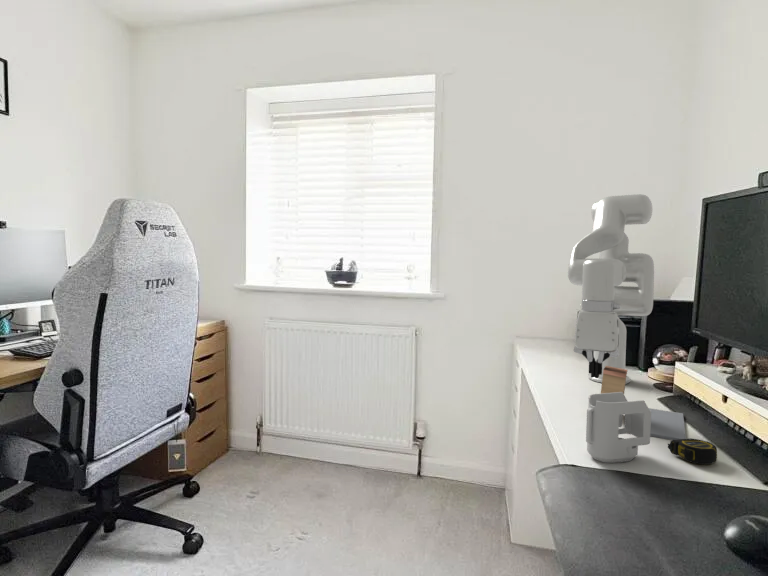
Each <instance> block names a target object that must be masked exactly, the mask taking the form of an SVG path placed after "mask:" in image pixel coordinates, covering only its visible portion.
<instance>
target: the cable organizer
mask: <svg viewBox="0 0 768 576" xmlns="http://www.w3.org/2000/svg"><path fill="white" fill-rule="evenodd" d="M587 404H588V405H587V410H586V426H585V427H586V428H585V430H586V433H585V441H586V451H587V453H588V454H589V455H590V456H591V457H592V458H593V459H595V460H597V461H599V462H603V463H608V464H609V463H612V464H613V463H618V462H619V463H620V462H621V463H622V462H623V463H624V462H625V463H626V462H630V461H632V460H633V459H634V458H636V457H637V456H638V454H639V452H638V451H639V446H648V445H650V443H651V436H650V429H651V411H650V410H649V409H648V408H649V407H648V405H647V403H646V402H645V400H644V399H642V400H632V401H628V399H627V397H626V396H625V393H624V394H623V392H614V393H601V392H600V393H593V394H590V395H588V402H587ZM623 416H624V427H623ZM621 427H623V428H621ZM625 434H627V435H631V436H634V437H629V438H625V437H624V438H623V437H619V435H625Z"/></svg>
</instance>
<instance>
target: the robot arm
mask: <svg viewBox="0 0 768 576" xmlns="http://www.w3.org/2000/svg"><path fill="white" fill-rule="evenodd" d="M652 215H653V203H652V200H651V199H650V197H649V196H648V195H645V194H623V195H611V196H606V197H604V198H602V199H600V200H598V201H596V202H595V203H593V204H592V205H591V218H592V229H591V232H590V233H588V234H586V235H585V236H584V237H582V238H581V239H580V240H578V242H577V243H576V244H575V245H574V246H573V248H572V250H571V252H570V258H569V263H568V268H567V277H568V280H569V282H570V283H571V284H573V285H575V286H581V288H582V289H581V310H579V311H578V313H577V319H576V324H575V332H574V347H573V352H574V353H577V354H579V355H582V356H583V357H584V358H585V359H586V360H587V362H588V374H587V377H588V379H589V380H591V381H593V382H597V383H601V384H602V379H603V370H604V368H605V366H610V367H615V368H621V369H626V355H627V354H626V353H627V351H626V350H627V333H628V332H627V326H626V325H625V323H624V322H623V321H622V320H621V319H620V317H619V316H632V317H647V316H649V315H650V314H651V313H652V311H653V309H654V291H655V290H654V288H655V264H654V259H653V257H652V256H651V255H650V254H648V253H642V252H640V253H635V252H634V253H633V252H632V253H630V252H629V242H630V241H629V237H628V235H627V234H626V233H625V226H627V225H628V226H629V225H646V224H648V223H649V222H651V219H652ZM598 253H599V258H588V257H589V256H592V255H594V254H598ZM623 283H634V284H637V286H630V285H629V286H624V285H622V284H623ZM630 382H631V377H629V376H626V384H625V385H627V384H629V383H630Z"/></svg>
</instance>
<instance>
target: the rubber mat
mask: <svg viewBox="0 0 768 576" xmlns="http://www.w3.org/2000/svg"><path fill="white" fill-rule="evenodd" d="M648 409H649V410H650V411H651V429H650V437H653V438H660V439H665V440H670V441H672V440H679V439H687V437H686V429H685V419H684V413H683V412H675V411H670V410H663V409H657V408H651V407H648Z"/></svg>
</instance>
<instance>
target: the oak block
mask: <svg viewBox="0 0 768 576" xmlns="http://www.w3.org/2000/svg"><path fill="white" fill-rule="evenodd" d="M627 374H628V369H626V368H625V369H621V368H615V367H610V366H605V368H604V370H603V379H602V383H601V388H600V394H601V393H614V392H623V394H624V395H625V392H626V391H625V390H626V385H627V384H626V376H627ZM627 377H628V376H627Z"/></svg>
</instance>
